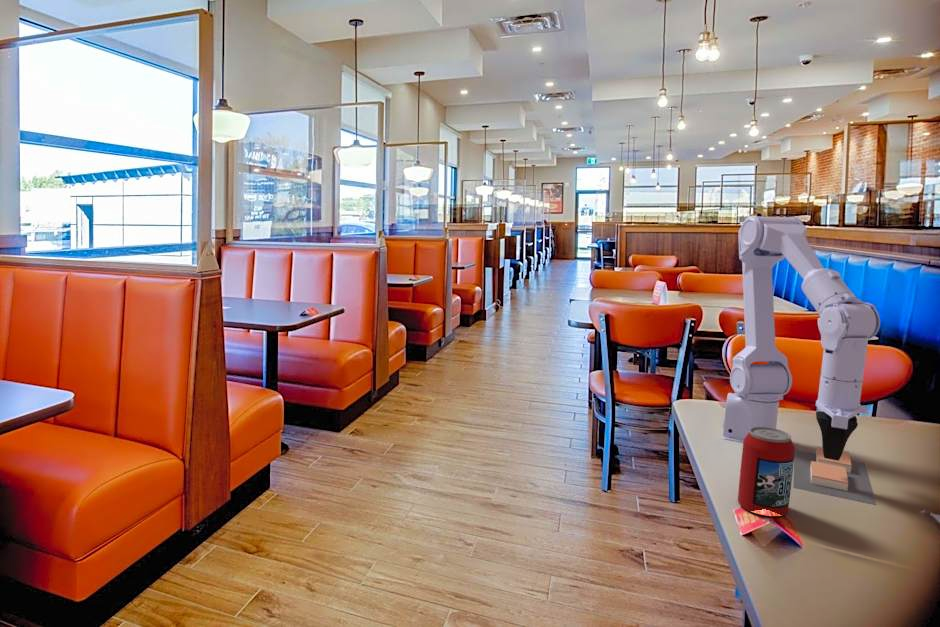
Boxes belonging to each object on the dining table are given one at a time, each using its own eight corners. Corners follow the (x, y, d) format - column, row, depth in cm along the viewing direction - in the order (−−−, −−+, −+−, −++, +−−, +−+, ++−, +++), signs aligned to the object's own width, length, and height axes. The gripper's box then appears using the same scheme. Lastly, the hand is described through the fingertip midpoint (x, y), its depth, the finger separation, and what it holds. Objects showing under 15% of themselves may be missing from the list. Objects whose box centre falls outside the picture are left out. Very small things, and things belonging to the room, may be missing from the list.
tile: (812, 475, 94) (811, 460, 100) (811, 483, 94) (810, 468, 100) (848, 482, 91) (845, 467, 98) (847, 490, 92) (844, 475, 98)
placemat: (793, 489, 93) (793, 487, 92) (794, 451, 109) (794, 449, 109) (875, 507, 87) (876, 504, 87) (863, 464, 104) (864, 462, 103)
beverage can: (767, 525, 81) (776, 444, 79) (727, 504, 87) (734, 428, 85) (797, 515, 84) (807, 437, 82) (756, 496, 90) (764, 422, 88)
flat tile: (816, 466, 101) (817, 458, 101) (815, 453, 107) (816, 446, 107) (850, 472, 99) (851, 465, 98) (847, 459, 105) (848, 452, 104)
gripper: (876, 392, 84) (865, 479, 86) (866, 371, 96) (856, 448, 98) (820, 384, 87) (810, 469, 89) (817, 366, 100) (809, 440, 102)
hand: (831, 458), depth 94 cm, fingers closed
